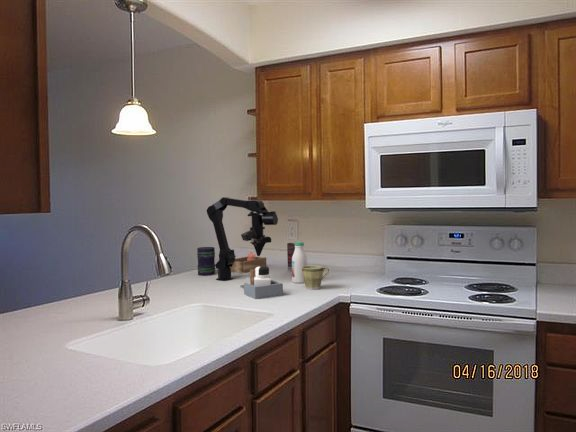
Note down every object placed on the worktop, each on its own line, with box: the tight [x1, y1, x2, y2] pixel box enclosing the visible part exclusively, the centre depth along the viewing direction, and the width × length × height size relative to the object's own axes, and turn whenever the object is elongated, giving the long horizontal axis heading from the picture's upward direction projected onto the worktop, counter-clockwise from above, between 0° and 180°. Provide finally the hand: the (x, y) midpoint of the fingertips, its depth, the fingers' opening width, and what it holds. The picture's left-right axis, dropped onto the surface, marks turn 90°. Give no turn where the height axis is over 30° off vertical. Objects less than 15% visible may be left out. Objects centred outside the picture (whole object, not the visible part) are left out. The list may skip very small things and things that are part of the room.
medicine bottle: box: [254, 265, 272, 286], centre depth 203 cm, size 7×7×12 cm
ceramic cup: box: [302, 265, 330, 291], centre depth 213 cm, size 13×10×10 cm
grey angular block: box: [243, 279, 284, 300], centre depth 201 cm, size 11×13×5 cm
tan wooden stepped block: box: [249, 269, 256, 285], centre depth 207 cm, size 5×8×9 cm, turn 120°
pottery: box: [246, 251, 256, 261], centre depth 271 cm, size 18×10×10 cm, turn 145°
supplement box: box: [286, 242, 295, 271], centre depth 265 cm, size 9×5×16 cm, turn 46°
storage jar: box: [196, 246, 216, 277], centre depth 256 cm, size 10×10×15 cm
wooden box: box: [230, 256, 267, 274], centre depth 272 cm, size 14×23×6 cm, turn 145°
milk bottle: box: [291, 241, 308, 284], centre depth 229 cm, size 8×8×20 cm
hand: (258, 256), depth 231 cm, fingers closed
